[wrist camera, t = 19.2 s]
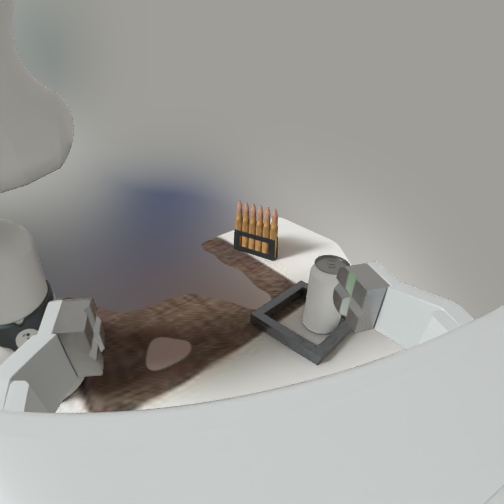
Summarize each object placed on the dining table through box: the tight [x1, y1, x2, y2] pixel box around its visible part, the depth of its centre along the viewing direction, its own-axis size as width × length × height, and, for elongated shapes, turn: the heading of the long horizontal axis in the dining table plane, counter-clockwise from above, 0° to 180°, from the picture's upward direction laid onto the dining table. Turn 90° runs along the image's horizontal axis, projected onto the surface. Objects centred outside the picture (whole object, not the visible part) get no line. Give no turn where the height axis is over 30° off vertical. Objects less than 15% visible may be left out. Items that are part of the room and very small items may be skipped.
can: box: [303, 255, 350, 334], centre depth 50 cm, size 6×6×12 cm
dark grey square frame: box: [250, 281, 352, 365], centre depth 53 cm, size 14×14×2 cm
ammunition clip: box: [234, 201, 278, 261], centre depth 71 cm, size 11×2×12 cm, turn 61°
